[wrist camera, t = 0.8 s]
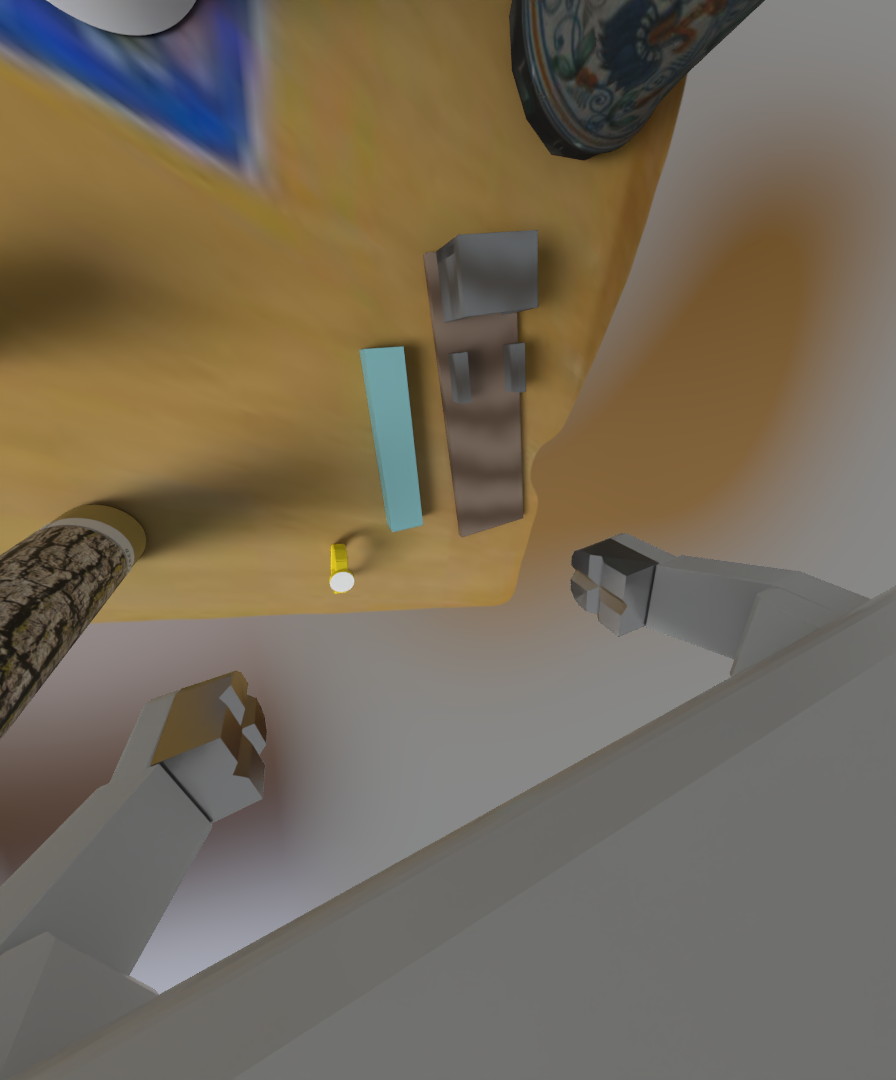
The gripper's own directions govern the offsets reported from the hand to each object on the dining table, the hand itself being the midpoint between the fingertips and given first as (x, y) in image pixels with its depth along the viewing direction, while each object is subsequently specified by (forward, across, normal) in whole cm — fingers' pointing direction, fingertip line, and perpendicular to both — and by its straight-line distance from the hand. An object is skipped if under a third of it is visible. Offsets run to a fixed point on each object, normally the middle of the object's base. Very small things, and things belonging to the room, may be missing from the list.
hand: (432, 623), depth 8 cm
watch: (+36, +3, +16) cm, 40 cm away
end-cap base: (+36, -19, +2) cm, 41 cm away
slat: (+36, -7, +3) cm, 37 cm away
